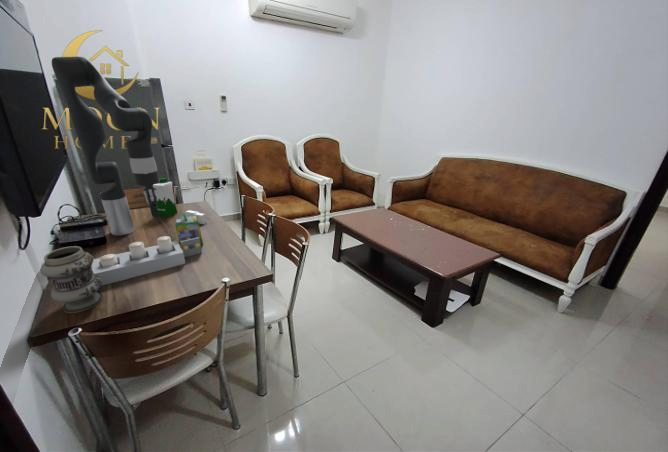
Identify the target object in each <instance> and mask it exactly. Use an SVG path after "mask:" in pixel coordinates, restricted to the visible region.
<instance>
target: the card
mask: <svg viewBox="0 0 668 452" xmlns="http://www.w3.org/2000/svg"><path fill="white" fill-rule="evenodd" d="M180 242H181V247H182V251H183V254H184V258H187V257H190V256H195V255H198V254H202V253H203V250H202V245H201V244H200V238H199V237H198V238H193V239H189V240H184V241H180Z"/></svg>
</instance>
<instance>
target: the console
mask: <svg viewBox="0 0 668 452" xmlns="http://www.w3.org/2000/svg"><path fill="white" fill-rule="evenodd" d="M171 243H172V247H173V250H172V251H170V252H167V253H161V252H160V251H159V247H158V244H157V245H153V246H148V247H144V248H145V251H146V256H145V257H144V258H141V259H132V256H131V253H130V250H129V251H125V252H121V253H115V255H116V258H117V261H118V265H113V266H109V267H105V268H102V265H101V262H100V258H101V257H97V258H93V263H92V265H91V268H92V271H93V273H94V274H95V275H97V276H99V277H100V278H101V279H102V286H105V285H106V286H107V285H109V284H112V283H118V282H121V281H125V280H129V279H131V278H132V279H133V278H135V277H139V276H144V275H147V274H151V273H152V274H153V273H155V272H158V271H162V270H167V269H169V268H170V269H171V268H174V267H177V266H183V265H185V264H186V259H185V257H184V254H183V251H182V249H181V247H180V243H179V240H178V241H177V240H175V241H171Z"/></svg>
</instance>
